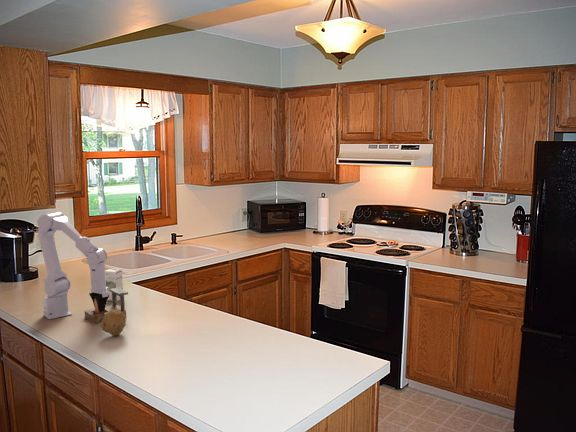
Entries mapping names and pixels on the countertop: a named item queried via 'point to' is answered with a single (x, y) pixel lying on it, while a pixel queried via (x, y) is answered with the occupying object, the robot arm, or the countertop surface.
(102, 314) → the socket station
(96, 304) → the peg
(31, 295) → the countertop surface
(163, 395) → the countertop surface
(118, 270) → the syrup box
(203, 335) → the countertop surface
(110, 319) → the natural sponge
